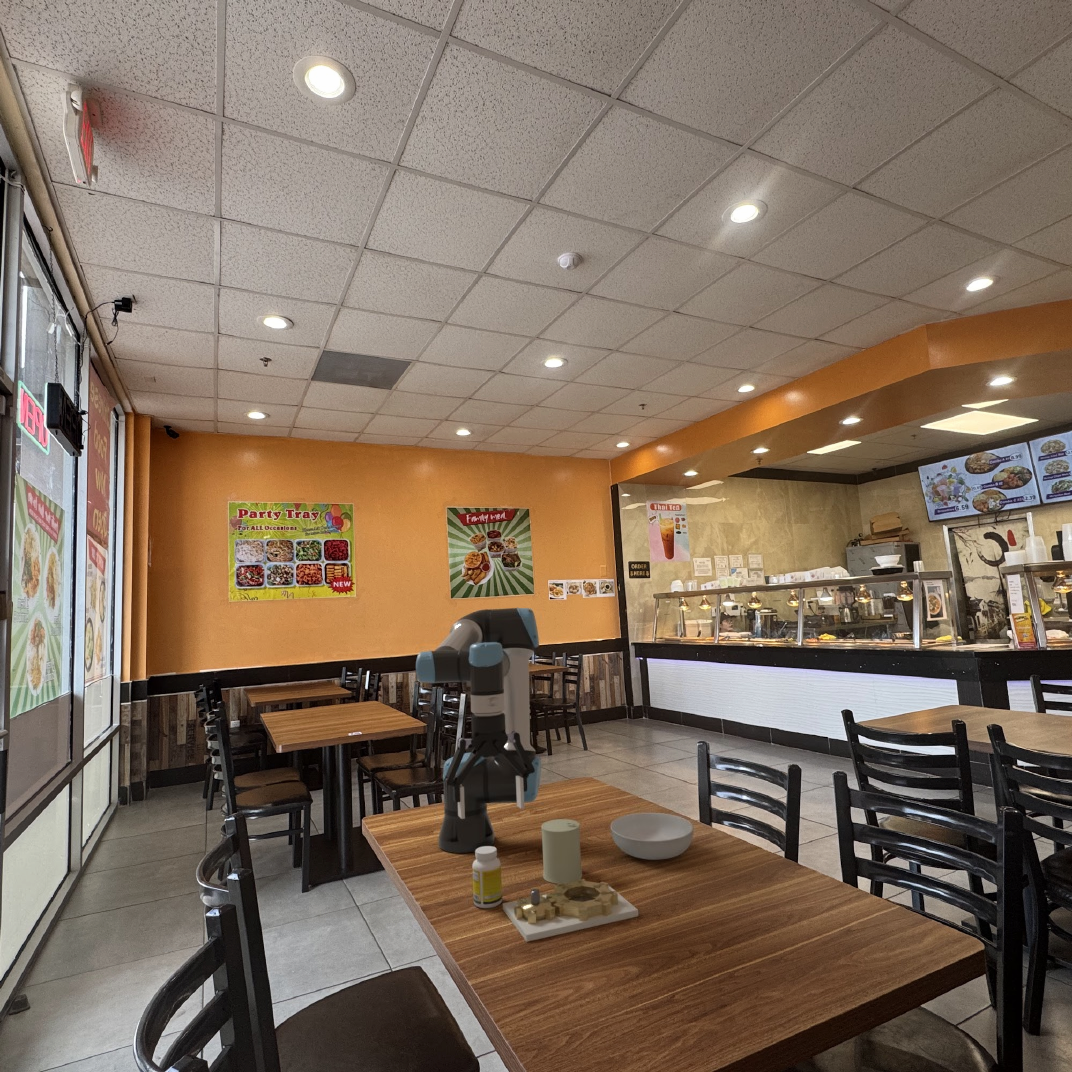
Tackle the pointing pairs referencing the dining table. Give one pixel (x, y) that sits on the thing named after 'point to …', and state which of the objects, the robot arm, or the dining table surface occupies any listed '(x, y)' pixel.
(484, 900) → the pill bottle
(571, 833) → the can
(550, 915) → the gear
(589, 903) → the gear
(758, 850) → the dining table surface
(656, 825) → the serving bowl
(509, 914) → the gear board
